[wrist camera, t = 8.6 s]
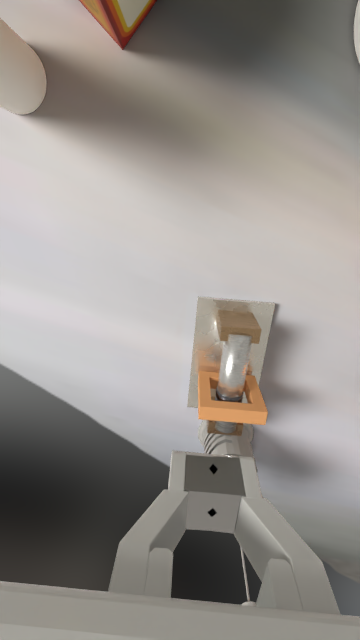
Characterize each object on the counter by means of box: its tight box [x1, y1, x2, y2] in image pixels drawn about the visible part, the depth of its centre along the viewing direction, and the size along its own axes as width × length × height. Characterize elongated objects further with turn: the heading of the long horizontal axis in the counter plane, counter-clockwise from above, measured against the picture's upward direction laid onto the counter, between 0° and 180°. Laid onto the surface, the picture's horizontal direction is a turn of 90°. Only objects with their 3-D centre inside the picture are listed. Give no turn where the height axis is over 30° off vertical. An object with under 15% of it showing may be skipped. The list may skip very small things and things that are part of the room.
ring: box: [198, 371, 268, 425], centre depth 41 cm, size 9×2×9 cm, turn 86°
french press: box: [198, 420, 263, 606], centre depth 40 cm, size 10×12×25 cm
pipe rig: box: [187, 297, 275, 436], centre depth 42 cm, size 11×19×8 cm, turn 176°
